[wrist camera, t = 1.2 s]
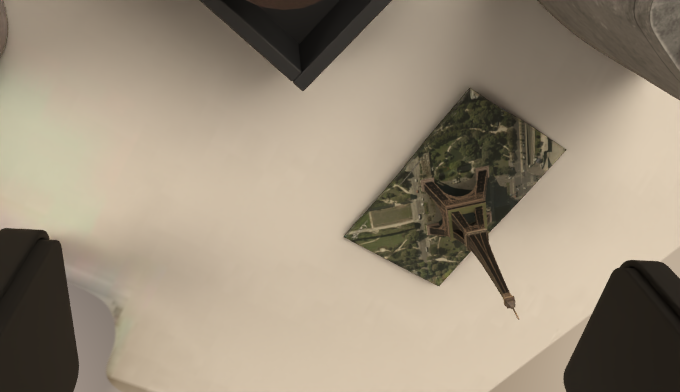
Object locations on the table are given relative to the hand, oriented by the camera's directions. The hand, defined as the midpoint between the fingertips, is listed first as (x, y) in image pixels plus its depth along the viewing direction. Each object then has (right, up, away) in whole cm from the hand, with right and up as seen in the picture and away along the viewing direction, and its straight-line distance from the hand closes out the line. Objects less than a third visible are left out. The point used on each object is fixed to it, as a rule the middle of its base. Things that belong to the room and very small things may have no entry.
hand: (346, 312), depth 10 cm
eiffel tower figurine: (+8, +2, +34) cm, 35 cm away
